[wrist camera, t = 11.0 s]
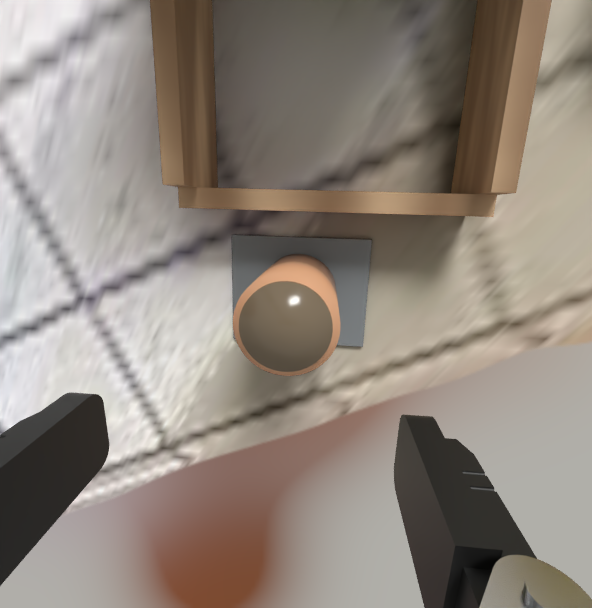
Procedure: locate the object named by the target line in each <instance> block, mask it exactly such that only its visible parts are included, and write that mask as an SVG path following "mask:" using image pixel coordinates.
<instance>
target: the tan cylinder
mask: <svg viewBox="0 0 592 608" xmlns="http://www.w3.org/2000/svg"><path fill="white" fill-rule="evenodd" d="M233 330H234V335H235V338H236V341H237V344H238V345H239V347H240V349H241V351H242V352H243V354H244V355H245V356H246V357H247V358H248V359H249V360H250V361H251V362H252V363H253V364H255V365H256V366H258V367H259V368H261V369H263V370H265V371H267V372H270V373H273V374H277V375H283V376H294V375H301V374H305V373H307V372H310V371H312V370H314V369H316V368H318V367H319V366H320V365H322V364H323V363H324V362H325V361H326V360H327V359H328V358H329V357H330V356H331V354H332V353H333V351H334V350H335V348H336V345H337V343H338V340H339V336H340V315H339V307H338V298H337V290H336V283H335V280H334V277H333V275H332V273H331V271H330V270H329V269H328V267H327V266H326V265H325V264H324V263H323V262H321V261H320V260H318V259H316V258H315V257H312V256H309V255H305V254H291V255H287V256H284V257H282V258H280V259H278V260H277V261H275V262H274V263H273V264H272V265H271V266H270V267H269V268H268V269H267V270H266V271H264V272H263V273H262V274H261V275H260V276H259V277H258V278H257V279H256V280H255V281H254V282H253V283H252V284H251V285H250V286H249V287H248V288H247V289H246V290H245V291H244V292H243V294H242V295H241V296H240V298H239V300H238V302H237V304H236V307H235V310H234V315H233Z"/></svg>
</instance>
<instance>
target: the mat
mask: <svg viewBox="0 0 592 608" xmlns="http://www.w3.org/2000/svg"><path fill="white" fill-rule="evenodd" d="M371 244H372V240H368V239H340V238H311V237H282V236H254V235H232V280H233V315H234V310H235V307H236V304H237V302H238V300H239V298H240V296H241V295H242V294H243V292H244V291H245V290H246V289H247V288H248V287H249V286H250V285H251V284H252V283H253V282H254V281H255V280H256V279H257V278H258V277H259V276H260V275H261V274H262V273H263V272H264V271H266V270H267V269H268V268H269V267H270V266H271V265H272V264H273V263H274V262H275V261H277V260H278V259H280V258H282V257H284V256H287V255H291V254H305V255H309V256H312V257H315V258H316V259H318V260H320V261H321V262H323V263H324V264H325V265H326V266H327V267H328V269H329V270H330V271H331V273H332V275H333V277H334V280H335V283H336V290H337V298H338V307H339V315H340V336H339V340H338V343H337V345H344V346H361V347H363V339H364V327H365V315H366V303H367V292H368V280H369V268H370V256H371ZM234 339H236V338H235V335H234Z"/></svg>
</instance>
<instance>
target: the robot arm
mask: <svg viewBox="0 0 592 608" xmlns="http://www.w3.org/2000/svg"><path fill="white" fill-rule="evenodd" d="M108 451H109V439H108V432H107V425H106V417H105V410H104V403H103V400H102V398H101V397H100V396H99V395H97V394H84V393H67V394H65V395H63V396H62V397H60V398H59V399H57V400H56V401H55V402H53V403H52V404H50V405H49V406H48V407H46V408H45V409H43V410H42V411H41V412H39V413H37V414H35V415H32V416H30V417H28V418H26V419H24V420H22V421H20V422H18V423H17V424H15V425H14V426H13V427H11V428H10V429H8V430H7V431H5V432H4V433H3V434H1V435H0V585H1V584H2V583H3V582H4V581H5V579H6V578H7V577H8V576H9V575H10V574H11V573H12V571H13V570H14V569H15V568H16V567H17V566H18V564H19V563H20V562H21V561H22V560H23V559H24V558H25V556H26V555H27V554H28V553H29V552H30V551H31V549H32V548H33V547H34V546H35V545H36V544H37V542H38V541H39V540H40V539H41V538H42V536H43V535H44V534H45V533H46V532H47V531H48V530H49V529H50V527H51V526H52V525H53V524H54V523H55V522H56V520H57V519H58V518H59V517H60V516H61V515H62V513H63V512H64V511H65V510H66V509H67V508H68V506H69V505H70V504H71V503H72V502H73V501H74V499H75V498H76V497H77V496H78V495H79V494H80V492H81V491H82V490H83V489H84V488H85V487H86V485H87V484H88V483H89V482H90V481H91V480H92V478H93V477H94V476H95V475H96V474H97V473H98V472H99V470H100V469H101V468H102V466H103V465H104V463H105V461H106V458H107V455H108ZM394 483H395V490H396V495H397V499H398V502H399V507H400V511H401V514H402V519H403V523H404V526H405V531H406V535H407V539H408V543H409V547H410V551H411V554H412V558H413V563H414V567H415V571H416V574H417V579H418V583H419V587H420V591H421V595H422V599H423V603H424V607H425V608H592V599H591V598H590V597H589V595H588V594H586V592H585V591H584V590H583V589H582V588H581V587H580V586H579V585H578V584H577V583H575V582H574V581H573V580H572V579H571V578H569V577H568V576H567V575H565V574H564V573H563V572H561V571H560V570H558V569H556V568H555V567H553V566H551V565H549V564H547V563H545V562H543V561H541V560H538V559H537V558H536V556H535V555H534V553H533V551H532V550H531V548H530V546H529V545H528V543H527V542H526V540H525V538H524V537H523V535H522V533H521V531H520V530H519V528H518V527H517V525H516V523H515V522H514V520H513V518H512V517H511V515H510V513H509V512H508V510H507V508H506V507H505V505H504V503H503V502H502V500H501V498H500V497H499V495H498V494H497V492H495V491H494V487H493V485H492V484H491V482H490V480H489V479H488V477H487V476H485V472H484V470H483V469H482V467H481V465H480V464H479V462H478V460H477V459H476V457H475V456H474V454H473V453H472V452H470V451H469V450H468V449H467V448H466V447H465V446H464V445H462V444H461V443H460V442H459V441H458V440H456V439H446V438H444V436H443V434H442V432H441V430H440V428H439V426H438V424H437V422H436V421H435V419H434V418H433V417H430V416H415V415H402V416H401V418H400V423H399V431H398V439H397V447H396V455H395V463H394Z"/></svg>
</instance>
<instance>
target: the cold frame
mask: <svg viewBox="0 0 592 608" xmlns="http://www.w3.org/2000/svg"><path fill="white" fill-rule="evenodd" d="M551 1H552V0H478V1H477V8H476V16H475V23H474V30H473V37H472V44H471V52H470V59H469V66H468V73H467V80H466V88H465V95H464V102H463V109H462V116H461V124H460V131H459V138H458V145H457V152H456V160H455V167H454V174H453V181H452V188H451V194H446V193H405V192H364V191H323V190H282V189H240V188H218V175H217V141H216V108H215V74H214V40H213V7H212V0H150V8H151V23H152V37H153V51H154V66H155V80H156V95H157V109H158V123H159V138H160V152H161V167H162V181H163V185H169V186H175V187H178V194H179V208H206V209H240V210H275V211H309V212H343V213H377V214H412V215H446V216H480V217H493V215H494V209H495V203H496V198H497V195H500V194H510V193H516V189H517V184H518V179H519V173H520V168H521V162H522V157H523V152H524V146H525V141H526V136H527V130H528V125H529V119H530V114H531V109H532V103H533V98H534V93H535V87H536V82H537V76H538V71H539V66H540V60H541V55H542V50H543V44H544V39H545V33H546V28H547V23H548V17H549V12H550V7H551Z"/></svg>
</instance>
